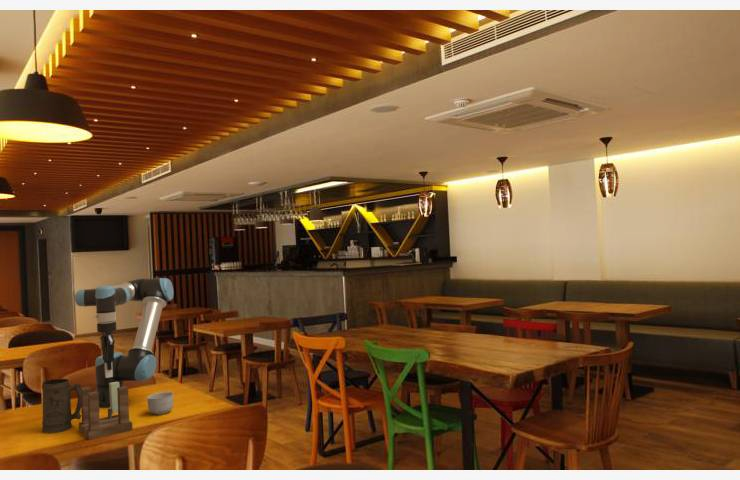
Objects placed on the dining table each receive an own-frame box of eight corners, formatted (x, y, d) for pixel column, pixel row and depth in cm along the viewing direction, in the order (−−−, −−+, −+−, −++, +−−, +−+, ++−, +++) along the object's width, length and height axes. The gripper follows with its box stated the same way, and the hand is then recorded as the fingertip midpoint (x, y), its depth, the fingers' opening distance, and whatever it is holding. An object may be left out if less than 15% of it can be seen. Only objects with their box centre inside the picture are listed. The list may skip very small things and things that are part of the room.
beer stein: (38, 435, 228) (40, 384, 228) (41, 427, 237) (43, 378, 238) (81, 431, 234) (83, 381, 234) (83, 424, 244) (85, 376, 244)
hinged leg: (110, 412, 239) (109, 383, 240) (118, 410, 241) (117, 381, 242) (112, 413, 237) (111, 383, 237) (120, 411, 239) (119, 382, 239)
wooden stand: (79, 430, 232) (77, 388, 232) (121, 421, 242) (119, 380, 243) (89, 439, 220) (87, 395, 220) (133, 429, 230) (131, 387, 230)
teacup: (165, 416, 247) (164, 398, 247) (142, 416, 249) (141, 397, 249) (182, 407, 260) (181, 389, 260) (160, 407, 262) (159, 389, 262)
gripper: (93, 321, 249) (95, 376, 249) (101, 324, 239) (103, 381, 239) (111, 319, 254) (113, 372, 254) (120, 322, 244) (122, 378, 244)
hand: (108, 377), depth 247 cm, fingers closed
